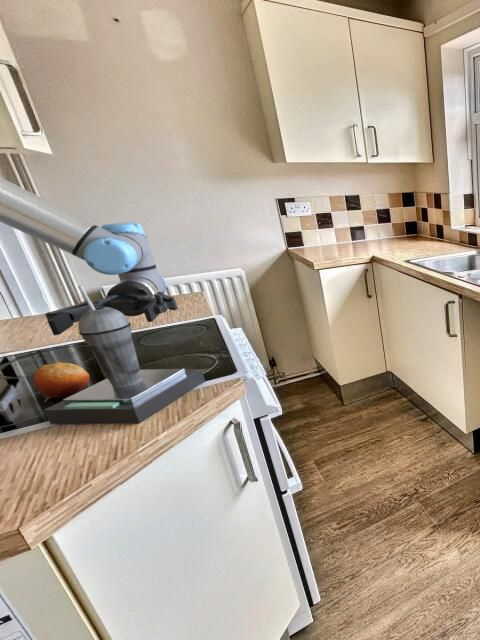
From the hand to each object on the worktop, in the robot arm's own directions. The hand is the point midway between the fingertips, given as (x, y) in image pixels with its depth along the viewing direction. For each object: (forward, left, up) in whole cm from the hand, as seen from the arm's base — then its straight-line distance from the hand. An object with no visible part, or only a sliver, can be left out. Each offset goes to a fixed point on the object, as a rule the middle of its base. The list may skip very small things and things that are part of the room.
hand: (102, 321), depth 79 cm
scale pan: (0, 0, -14) cm, 14 cm away
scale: (0, 0, -17) cm, 17 cm away
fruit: (-17, +3, -17) cm, 24 cm away
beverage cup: (0, 0, -13) cm, 13 cm away
